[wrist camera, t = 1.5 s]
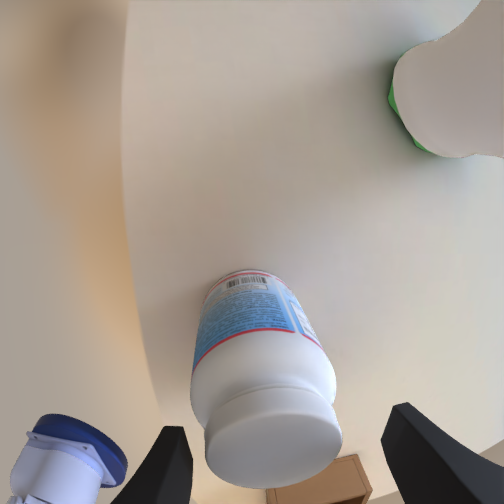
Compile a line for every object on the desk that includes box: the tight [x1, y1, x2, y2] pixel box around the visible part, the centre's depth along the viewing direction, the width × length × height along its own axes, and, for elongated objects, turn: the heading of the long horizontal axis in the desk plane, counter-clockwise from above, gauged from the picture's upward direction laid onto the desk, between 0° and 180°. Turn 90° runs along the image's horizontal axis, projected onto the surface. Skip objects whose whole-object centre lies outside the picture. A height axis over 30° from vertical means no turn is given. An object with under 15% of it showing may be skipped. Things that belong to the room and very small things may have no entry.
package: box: [266, 454, 373, 504], centre depth 23 cm, size 9×9×5 cm
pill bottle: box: [190, 270, 342, 489], centre depth 14 cm, size 6×6×11 cm
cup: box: [388, 0, 504, 158], centre depth 10 cm, size 11×11×14 cm
